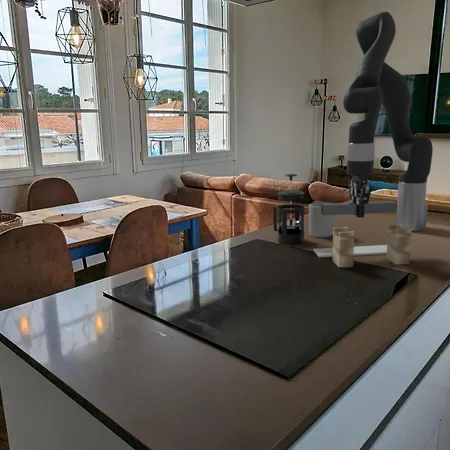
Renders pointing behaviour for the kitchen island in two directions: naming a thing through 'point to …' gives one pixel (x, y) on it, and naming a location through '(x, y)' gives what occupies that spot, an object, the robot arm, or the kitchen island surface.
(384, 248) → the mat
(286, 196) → the french press
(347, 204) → the rail
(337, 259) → the post
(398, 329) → the kitchen island surface
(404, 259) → the post
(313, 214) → the mug
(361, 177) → the robot arm
